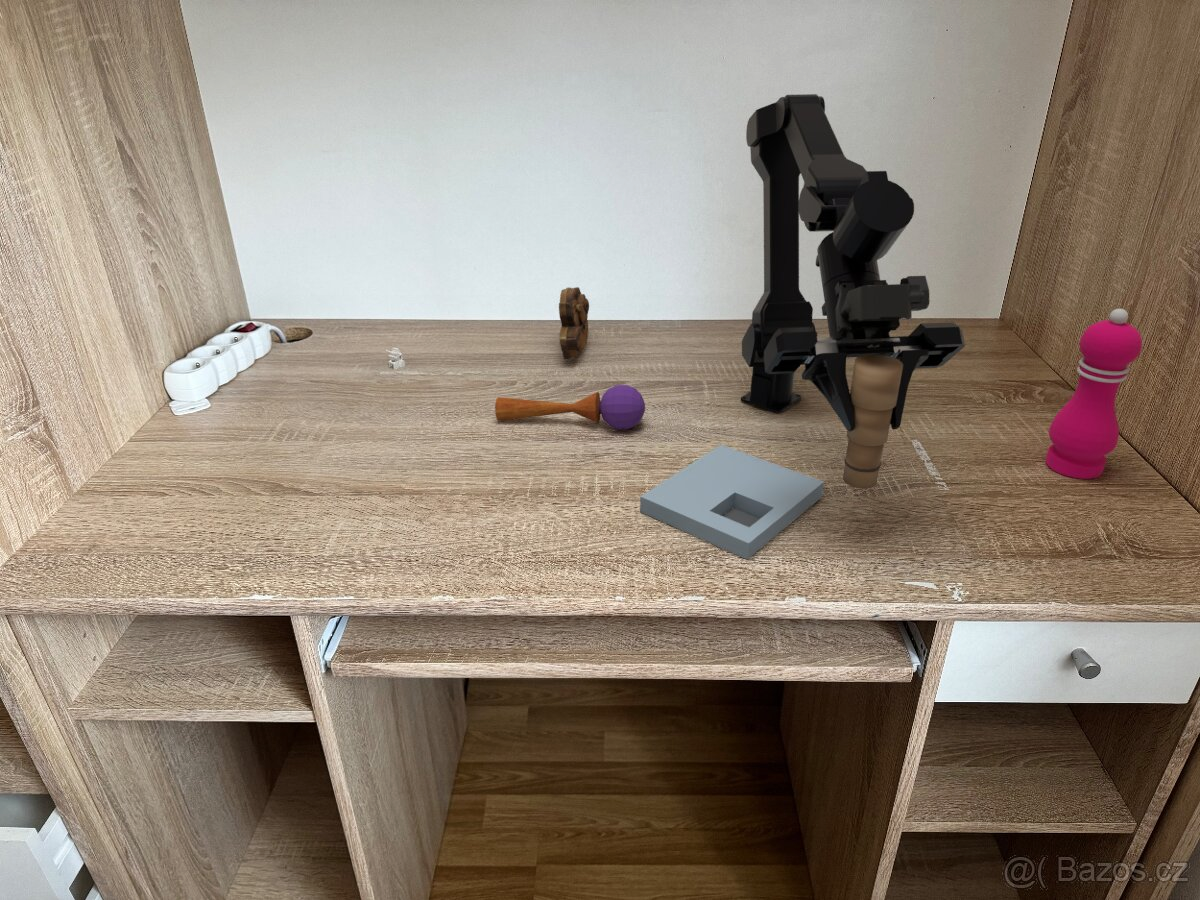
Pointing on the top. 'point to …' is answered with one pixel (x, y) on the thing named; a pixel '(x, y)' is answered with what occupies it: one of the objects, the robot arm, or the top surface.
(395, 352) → the white figurine
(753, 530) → the seat board
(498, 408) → the kendama
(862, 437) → the leg
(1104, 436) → the pepper mill
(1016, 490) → the top surface
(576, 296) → the wooden carving
